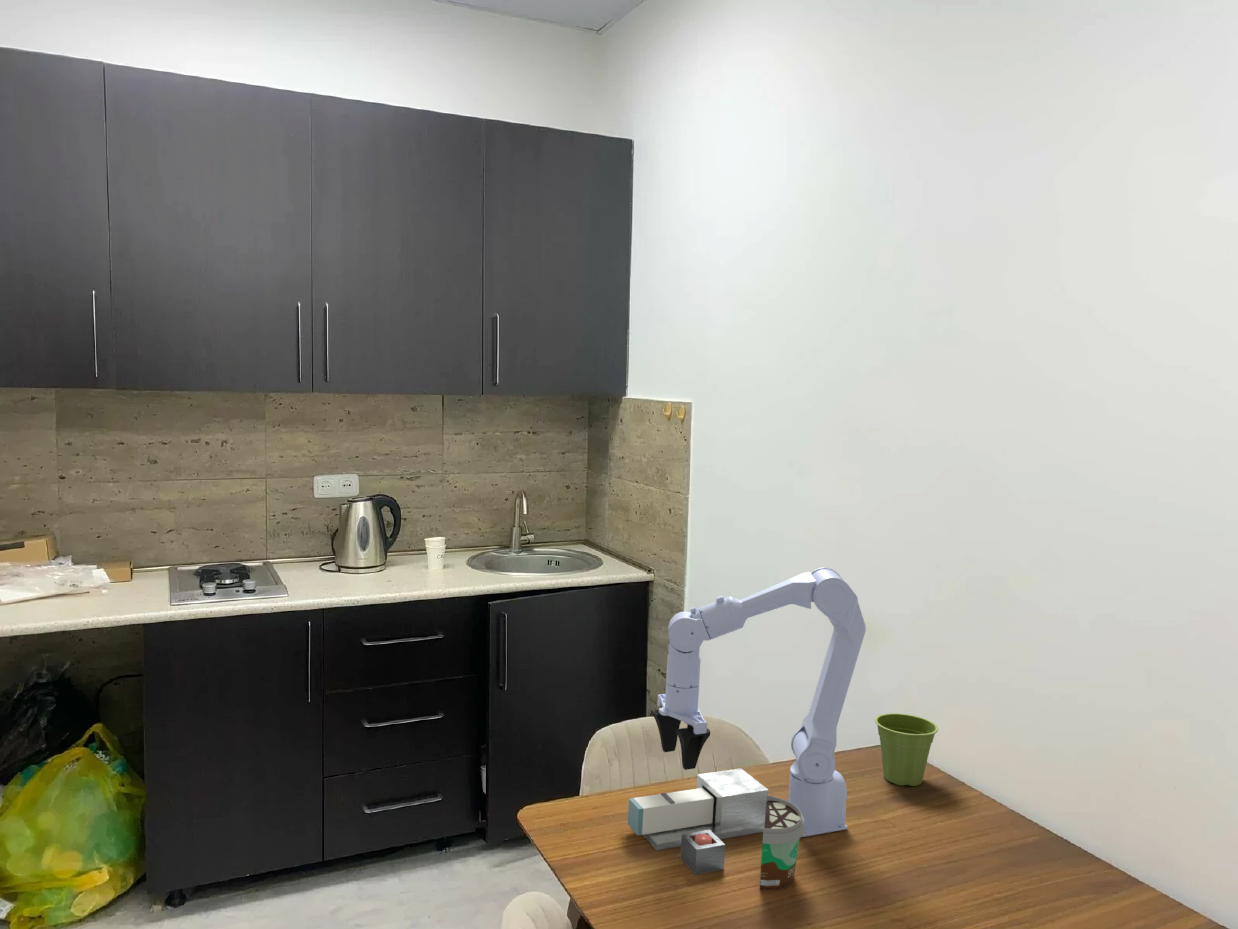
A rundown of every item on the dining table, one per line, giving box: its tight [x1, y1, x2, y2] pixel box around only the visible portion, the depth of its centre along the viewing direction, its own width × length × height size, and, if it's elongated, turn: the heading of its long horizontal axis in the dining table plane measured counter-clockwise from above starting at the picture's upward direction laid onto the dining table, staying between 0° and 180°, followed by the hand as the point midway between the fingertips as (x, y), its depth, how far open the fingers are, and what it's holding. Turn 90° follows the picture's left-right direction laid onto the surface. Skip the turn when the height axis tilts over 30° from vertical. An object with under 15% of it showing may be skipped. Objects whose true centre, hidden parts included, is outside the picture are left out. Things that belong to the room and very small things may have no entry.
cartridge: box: [627, 788, 714, 836], centre depth 150 cm, size 14×4×5 cm, turn 113°
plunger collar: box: [679, 830, 726, 876], centre depth 140 cm, size 5×5×4 cm
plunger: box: [695, 834, 712, 846], centre depth 140 cm, size 3×3×4 cm
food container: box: [759, 794, 805, 891], centre depth 137 cm, size 12×6×10 cm, turn 168°
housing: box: [642, 767, 769, 851], centre depth 152 cm, size 21×10×7 cm, turn 113°
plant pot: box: [874, 712, 939, 787], centre depth 175 cm, size 12×12×11 cm
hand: (678, 759), depth 156 cm, fingers open, 7 cm apart
